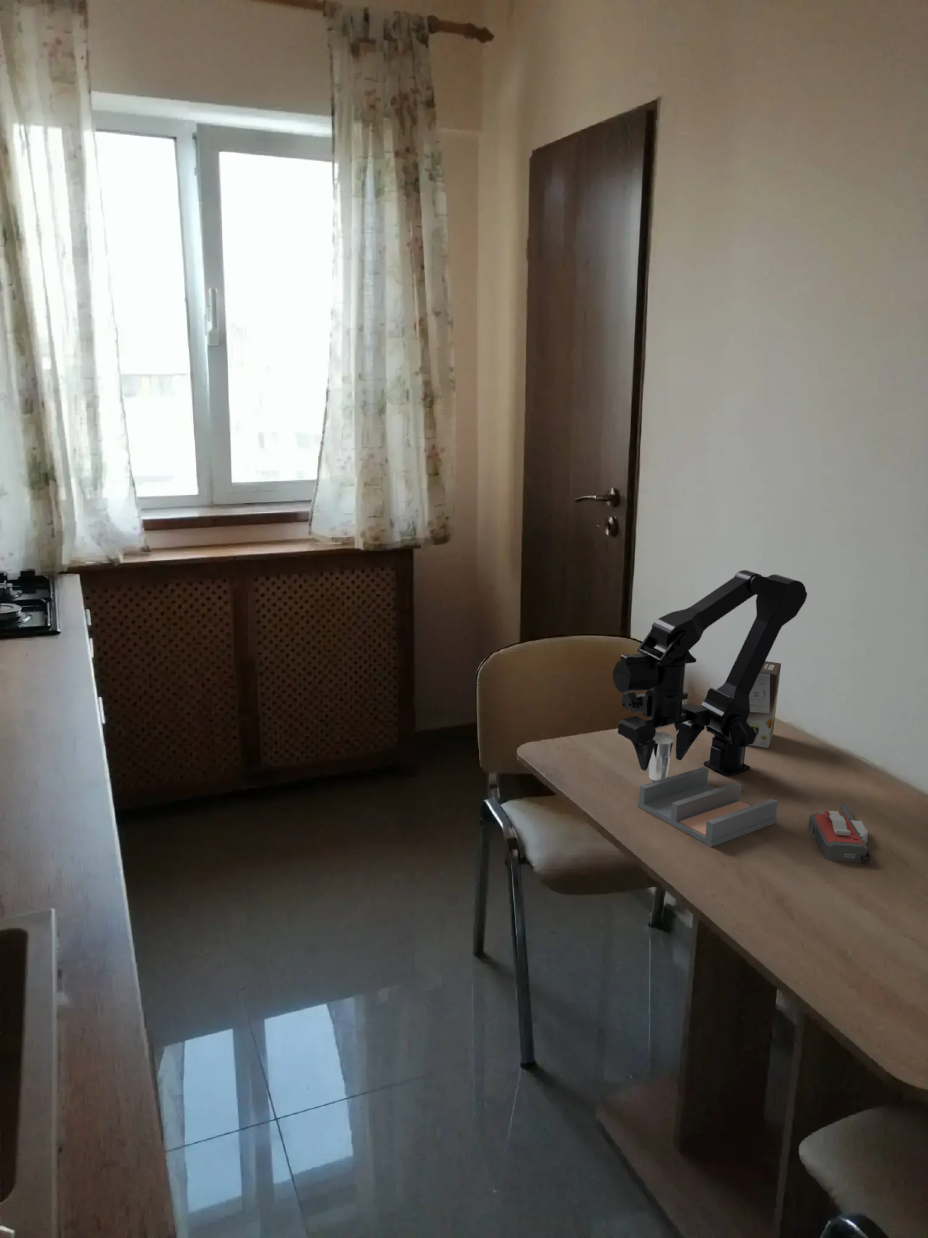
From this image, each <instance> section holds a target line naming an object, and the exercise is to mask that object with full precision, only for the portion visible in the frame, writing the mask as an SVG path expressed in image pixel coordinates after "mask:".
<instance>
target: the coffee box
mask: <svg viewBox="0 0 928 1238" xmlns="http://www.w3.org/2000/svg"><path fill="white" fill-rule="evenodd" d="M781 667H782V663H780V662H775V661H773V662H772V661H767V660H765V663H764V665H763V667H762V669H761V671H760V673H759V675H758V677H757V679H756V681H755V683H754V686H753V688H752V690H751V692H750V694H749V703H750V713H749V716H748V719H747V723H748V724H749V726H750V727H751V728H752V729H753V730H754V731H755V732H756V733H757V735H756V738H755V740H754V743H753V744H749V745H748V746H752V747H758V748H763V749H768V748H769V746H770V745H771V741H772V738H773V735H774V729H775V721H776V710H777V702H778V696H779V695H778V693H779V684H780V676H781Z"/></svg>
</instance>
